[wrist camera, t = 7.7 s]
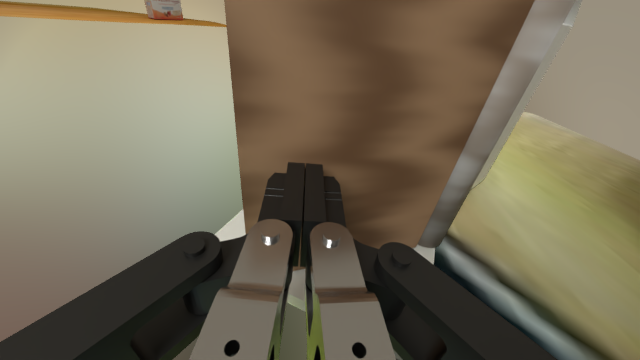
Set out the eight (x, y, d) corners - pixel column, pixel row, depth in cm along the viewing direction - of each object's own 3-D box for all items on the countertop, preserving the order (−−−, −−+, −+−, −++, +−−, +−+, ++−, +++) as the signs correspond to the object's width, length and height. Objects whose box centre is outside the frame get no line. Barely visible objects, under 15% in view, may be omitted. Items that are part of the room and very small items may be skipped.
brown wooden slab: (426, 219, 20) (539, -18, 12) (448, 244, 18) (604, -20, 10) (246, 247, 16) (216, -85, 8) (250, 284, 14) (214, -110, 6)
